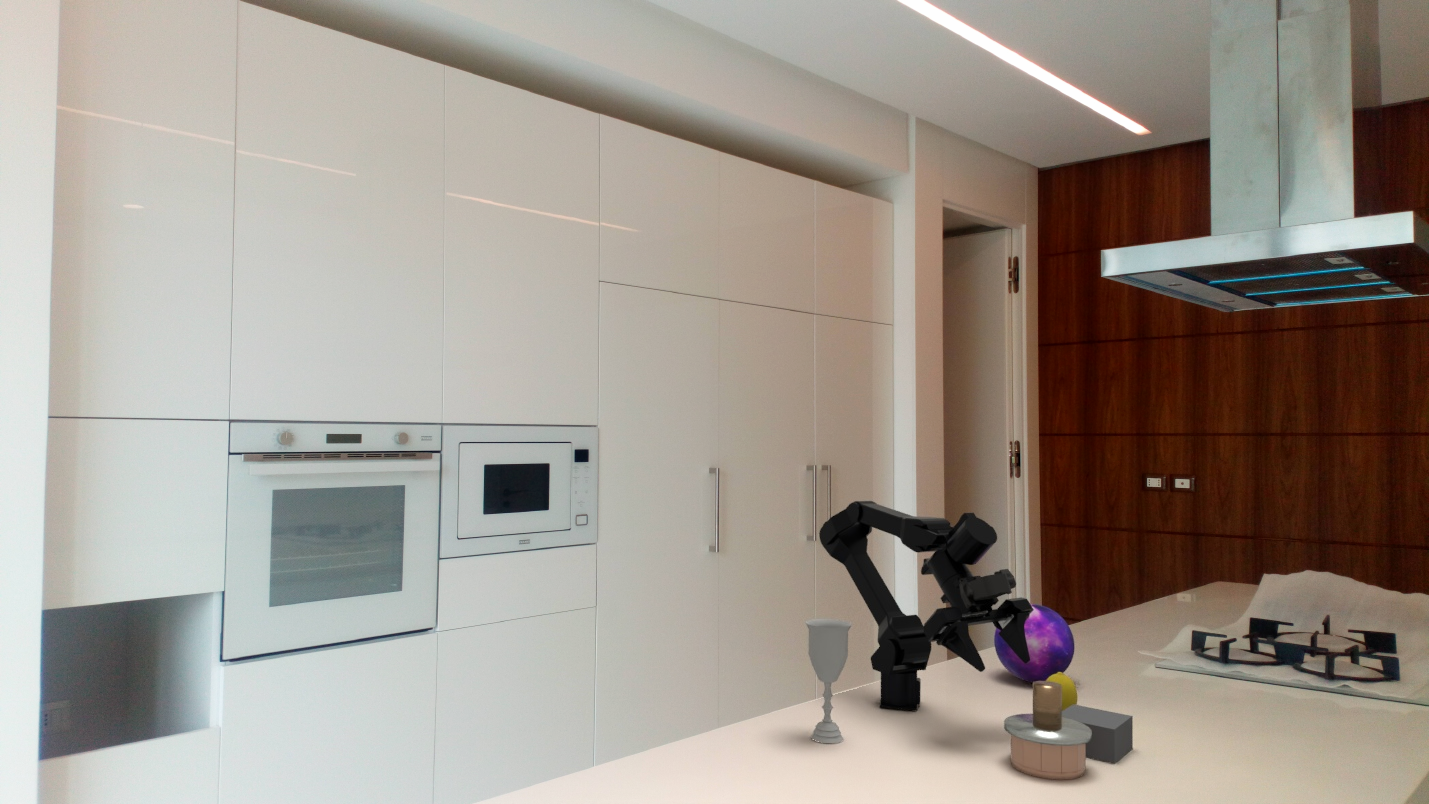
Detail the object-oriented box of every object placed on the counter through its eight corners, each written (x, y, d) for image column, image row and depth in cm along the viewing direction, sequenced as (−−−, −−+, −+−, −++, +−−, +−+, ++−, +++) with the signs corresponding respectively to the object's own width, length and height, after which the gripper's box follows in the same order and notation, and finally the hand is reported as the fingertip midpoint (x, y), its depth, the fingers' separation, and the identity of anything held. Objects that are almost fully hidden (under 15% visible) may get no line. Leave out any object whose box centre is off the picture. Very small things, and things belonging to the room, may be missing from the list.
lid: (992, 733, 131) (992, 685, 131) (1018, 714, 140) (1019, 669, 141) (1079, 751, 124) (1079, 701, 124) (1100, 729, 133) (1100, 682, 134)
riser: (1053, 749, 139) (1053, 716, 139) (1073, 735, 146) (1073, 704, 146) (1114, 763, 133) (1114, 729, 134) (1132, 748, 140) (1132, 715, 140)
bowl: (1013, 774, 128) (1013, 739, 128) (1008, 751, 138) (1009, 718, 138) (1089, 782, 126) (1089, 746, 126) (1079, 758, 135) (1079, 724, 135)
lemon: (1080, 725, 151) (1080, 677, 152) (1045, 722, 152) (1045, 674, 153) (1074, 715, 157) (1074, 668, 157) (1040, 713, 158) (1040, 666, 158)
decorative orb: (979, 679, 180) (979, 603, 180) (1018, 667, 190) (1018, 595, 191) (1050, 696, 169) (1051, 615, 169) (1088, 682, 179) (1088, 606, 179)
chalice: (854, 734, 144) (855, 620, 145) (846, 748, 138) (847, 629, 139) (809, 729, 147) (810, 617, 148) (799, 742, 140) (800, 625, 141)
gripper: (935, 557, 140) (986, 645, 131) (1024, 548, 149) (1078, 630, 139) (903, 598, 148) (949, 684, 138) (990, 587, 156) (1039, 668, 146)
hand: (1005, 666), depth 140 cm, fingers open, 9 cm apart
